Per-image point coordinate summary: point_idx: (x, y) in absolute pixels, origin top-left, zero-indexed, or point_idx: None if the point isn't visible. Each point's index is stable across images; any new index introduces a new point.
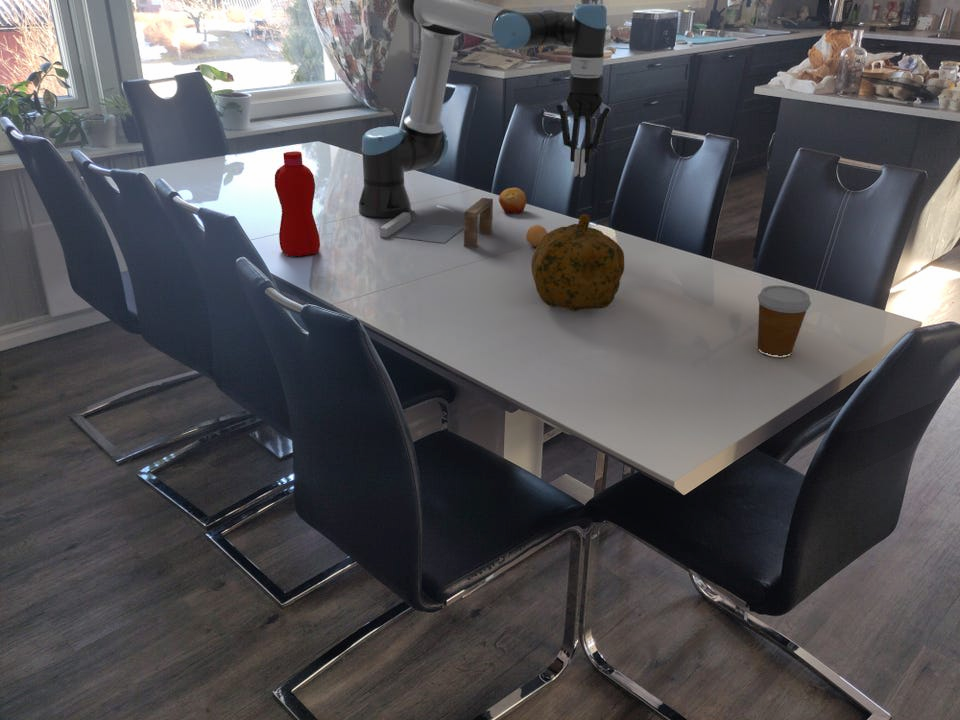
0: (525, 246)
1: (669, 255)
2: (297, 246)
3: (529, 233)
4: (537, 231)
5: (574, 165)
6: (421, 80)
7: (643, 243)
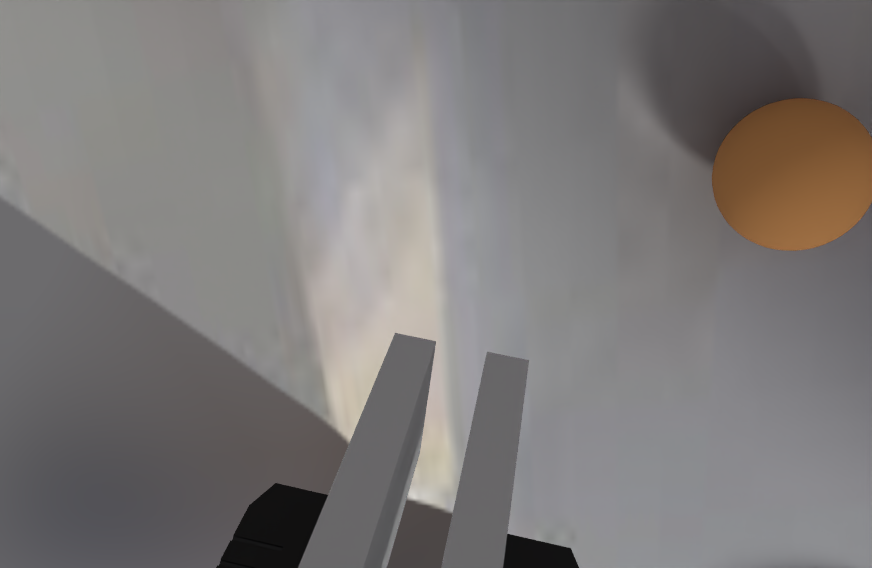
0: None
1: (15, 126)
2: None
3: (866, 136)
4: (808, 136)
5: (505, 465)
6: None
7: (178, 290)
